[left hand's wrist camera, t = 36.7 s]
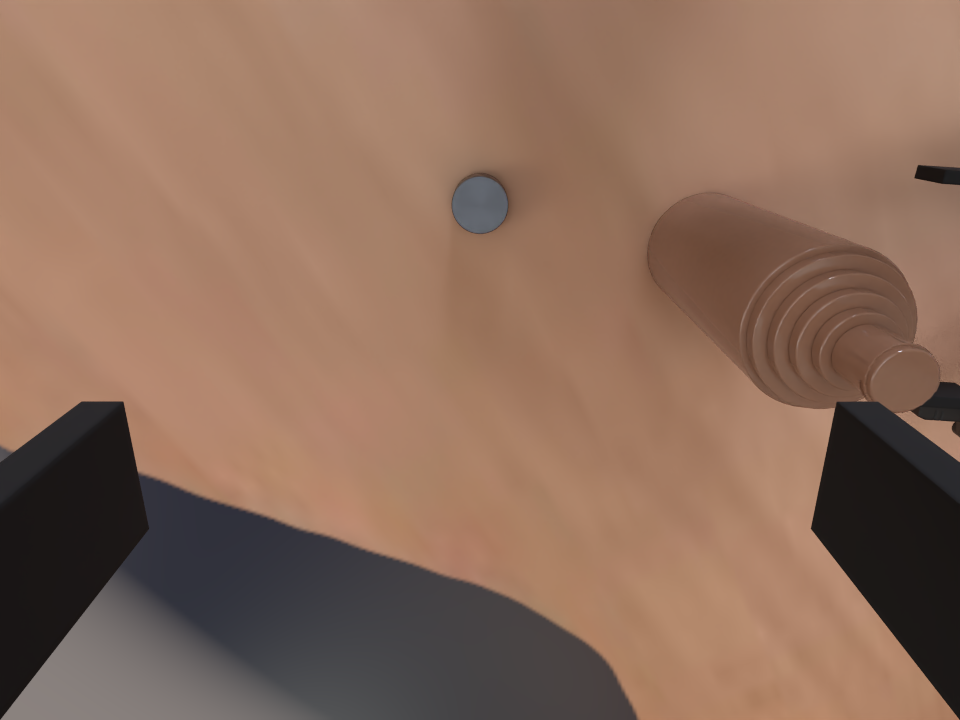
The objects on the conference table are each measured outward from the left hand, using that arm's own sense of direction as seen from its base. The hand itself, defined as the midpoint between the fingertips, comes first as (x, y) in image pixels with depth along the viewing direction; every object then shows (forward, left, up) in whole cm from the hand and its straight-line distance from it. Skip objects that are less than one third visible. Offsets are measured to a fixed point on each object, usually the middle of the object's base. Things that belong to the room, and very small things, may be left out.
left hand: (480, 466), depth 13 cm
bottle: (-13, +11, -38) cm, 41 cm away
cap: (0, 0, -36) cm, 36 cm away
